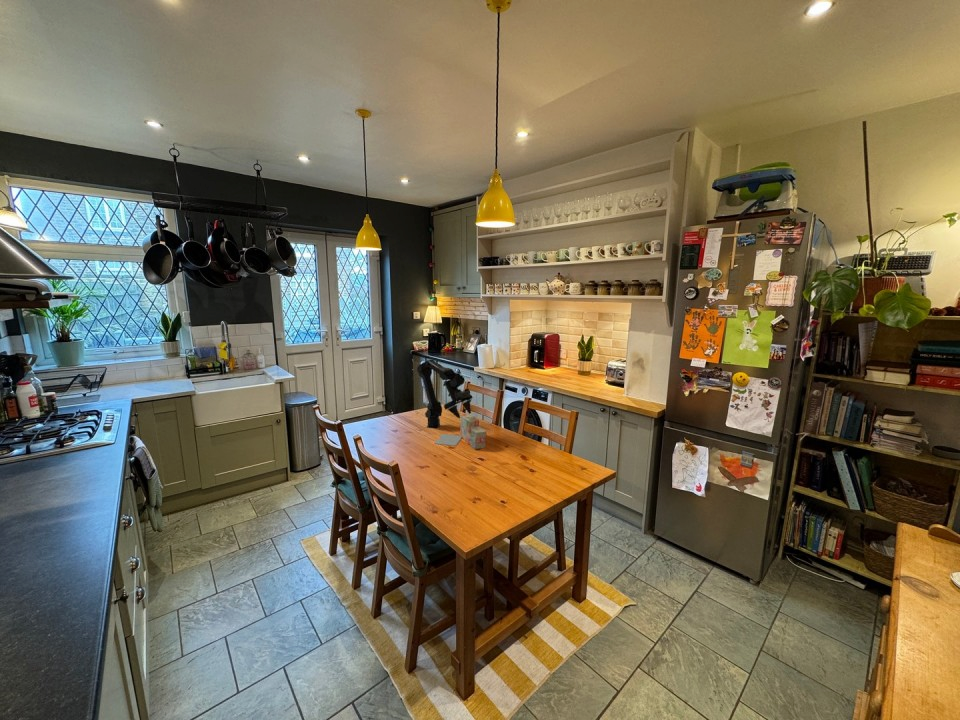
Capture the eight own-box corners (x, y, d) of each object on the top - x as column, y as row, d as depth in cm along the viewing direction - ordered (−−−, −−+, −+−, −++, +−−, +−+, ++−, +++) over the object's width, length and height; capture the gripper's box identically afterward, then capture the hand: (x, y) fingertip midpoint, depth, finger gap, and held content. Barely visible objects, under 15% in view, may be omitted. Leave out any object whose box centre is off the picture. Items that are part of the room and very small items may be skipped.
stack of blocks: (485, 447, 205) (486, 425, 203) (474, 449, 202) (475, 427, 200) (469, 433, 224) (470, 413, 222) (459, 435, 221) (460, 414, 219)
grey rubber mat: (434, 443, 210) (434, 443, 210) (443, 434, 223) (443, 433, 223) (455, 446, 207) (455, 445, 207) (462, 436, 221) (462, 435, 221)
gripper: (451, 388, 203) (463, 415, 201) (473, 381, 218) (484, 406, 216) (438, 396, 210) (450, 422, 208) (460, 388, 225) (471, 412, 223)
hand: (465, 415), depth 213 cm, fingers open, 9 cm apart
